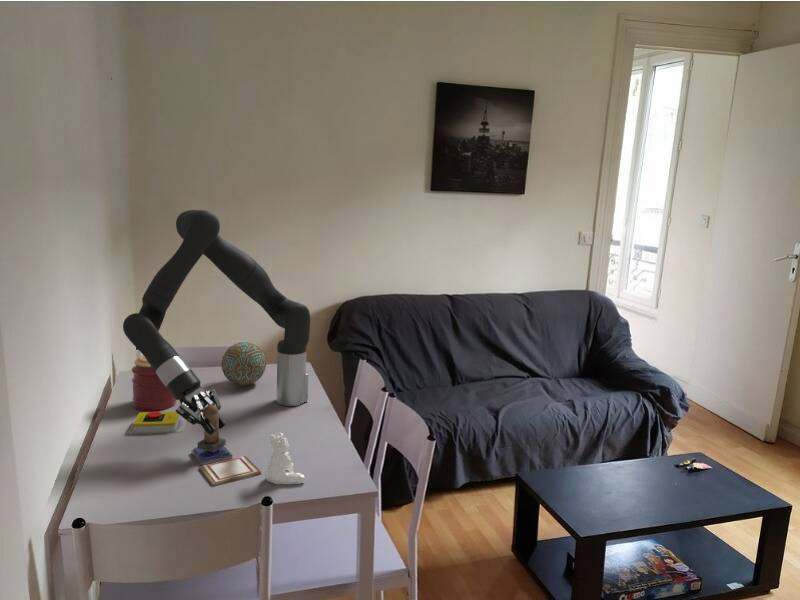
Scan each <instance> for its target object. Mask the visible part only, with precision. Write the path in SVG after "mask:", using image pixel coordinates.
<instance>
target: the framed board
mask: <svg viewBox="0 0 800 600" xmlns="http://www.w3.org/2000/svg"><path fill="white" fill-rule="evenodd" d="M198 469H199V471H200V472H201V473H202V474H203V476H204V478H206V479H207V481H208V482H209V483H210V484H211V486H212V487H215V486H219V485H223V484H227V483H231V482H234V481H239V480H242V479H243V480H244V479H247V478H251V477H255V476H258V475H262V471H261V470H260V469H259V468H258V467H257V466H256V465H255V464H254V462H252V461H251V460H250V459H249V458H248V457H247V456H246V455H244V456H239V457H235V458H232V459H228V460H224V461H219V462H215V463H210V464H206V465H202V466H201V465H200V466H199V467H198Z"/></svg>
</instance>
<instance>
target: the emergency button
mask: <svg viewBox="0 0 800 600" xmlns="http://www.w3.org/2000/svg"><path fill="white" fill-rule="evenodd" d="M187 422H188V421H187V420H186V419H184V418H181V416H180V415H179V414H178V413H177V412H176V410H175V411H158V410H155V411H142V412H139V413H138V415H137V416H136V417H135V420H134V421H132V424H131V425H130V427H129V428H128V430H127V434H128V433H129V434H128V435H133V433H142V434H165V433H183V432H185V429H186V426H187V424H188V423H187Z"/></svg>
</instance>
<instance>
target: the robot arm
mask: <svg viewBox="0 0 800 600" xmlns="http://www.w3.org/2000/svg"><path fill="white" fill-rule="evenodd" d="M220 228H221V225H220V220H219V219H218V217H217V216H216V214H215V213H213V212H211V211H209V210H203V209H202V210H201V209H188V210H185V211H183V212H180V214H179V215H178V216H177V218H176V220H175V229H176V232H177V234H178V235H179V237H180V238H181V239H182V242H181V244H180V246H179V248H178V249H177V250H176V251H175V253H174V254H173V255H172V256H171V258H169V259H168V261H167V262H166V263H164V265H163V266H162V267H161V268H159V270H158V271H157V272H156V274H155V275H154V277H153V278H152V280H151V282H150V283H149V285H148V286H147V288H146V290H145V291H144V294H143V296H142V299H141V302H142V305H141V308H140V309H139V312H135V313H134V312H133V313H132V314H129V315H128V316H126V318H125V319H124V321H123V323H122V329H123V333H124V335H125V336H126V338H127V339H128V340H129V341H130V343H132V345H133V346H134V347H135V348H136V349H137V350H138V351H139V352H140V353H141V354H142V356H143V355H144V357H145V358H146V359H147V361H148V363H149V364H150V365H151V366H152V368H153V369H154V370H155V372H156V373H157V375H158V377H159V378H160V380H161V381H162V383H163V384H164V385H165V386H166V388H167V389H168V390H169V392H170V393H171V394H172V396H173V397H174V398H175V399H176V401H179V403H180V405H179V406H178V407H177V408H176V409H175V411H176V412H177V413H178V414H179V415H180V417H182V419H186V420H187V422H188V423H190V424H191V425H192V426H195V425H200V427H202V428H203V431H204V430H205V431H206V432H207V433H208V434H209V435H211V434H213V433H214V432H215V431H216V428H215V427H214V426H213V424H212V423H211V422H210V420H209V419H207V417H206V415H205V413H204V410H205V408H206V407H207V406H209V405H215V406H216V407H217V408H218V410H219V411H220V410H221V409H222V404H221V401H220V398H219V397H218V395H217V393H216V390H215V389H214V388H211V390H208V391H207V390H206V389H204V388H203V387H202V386H201V383H202V382H201V380H200V379H199V378H198V376H197V374H195V372H194V371H193V370H192V368H191V367H190V366H189V365H188V363H187V362H186V361H185V360H184V359H183V358H182V357H181V356H180V355H179V354H178V352H177V351H176V350H175V348H174V347H173V346H172V344H170V342H169V341H168V340H166V339H165V338H164V337H163V336H162V334H161V333H160V332H159V331H160V329H161V328H162V324H163V322H164V319H165V317H166V312H167V311H168V308H169V307H170V306H171V304H172V302H173V300H174V298H175V296H176V295H177V293H178V291H179V290H180V288H181V286H182V285H183V283H184V282H185V280H186V278H187V277H188V275H189V274H190V272H191V271H192V270H193V268H194V267H195V265H196V264H197V263H198V261H199V260H200V259H201V257H202V256H203V255H204V256H205V257H206V258H208V260H209V261H211V263H213V264H214V266H215V267H216V268H217V269H218V270H219V271H221V273H222V274H223V275H225V276H226V277H227V278H228V280H230V282H231V283H232V284H234V285H235V286H236V287H237V288H238V289H239V290H241V292H243V294H245V295H246V296H247V297H249V298H250V299H251V300H252V301H254V302H256V303H257V304H258V305H259V306H260V307H261V308H262V309H263V310H264V311H265V312H266V314H267V315H268V316H269V318H271V320H273V322H274V324H276V325H277V326H278V327H280V328H282V329H284V335H283V336H284V337H283V339H281V340H278V342H277V346H276V348H277V349H276V350H277V353H276V355H277V356H276V357H277V358H276V404H278V405H280V406H286V407H296V406H297V407H298V406H301V405H303V404H305V403H307V402H306V401H309V395H308V394H309V374H308V373H307V346H308V344H309V342H310V333H311V332H310V331H311V312H310V310H309V308H308V306H307V305H305V304H303V303H301V302H297V301H295V300H292V299H289V298H288V297H286V296H285V295H284V294H282V293H281V292H280V291H279V290H278V289H277V288H276V287H275V286H274V285H273V282H272V281H271V280H272V279H271V278H270V276H269V275H268V273H267V272H266V270H265V268H263V267H262V266H261V264H260V263H258V262H257V261H256V260H255V259H254V258H253V257H252V256H251V255H249V254H248V253H246V252H245V251H243V250H242V249H240V248H238V247H237V246H235V245H233V244H231V242H228V241H227V240H226V239H224V238H223V237H222V236H221V235H220V234H219V233H220ZM304 402H305V403H304ZM302 403H303V404H302ZM300 404H301V405H300ZM226 425H227V422H226V420H225V419H224V417H223V416H222V415H221V414H220V413H219V430H221V429H223V428H224V427H225V426H226Z"/></svg>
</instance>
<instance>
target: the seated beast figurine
mask: <svg viewBox="0 0 800 600" xmlns="http://www.w3.org/2000/svg"><path fill="white" fill-rule="evenodd" d="M288 440H289V439H288V437H287V438H286V437H285V436H284V433H282V432H281V431H280V432H277V433H275V434H270V437H269V441H270V445H271V448H272V449H273V453H272V454H271V456H270V460H269V463H268V465H267V467H266V470H264V476H265V478H266V480H267V481H268V482H270V483H271V484H273V483H274V485H276V484H277V485H279V484H281V485H285V484H284V483H299V482H304V483H305V481H306V480H305V474H302V473H301V472H294V468H295V465H294V462H292V461H291V460H292V458H291V456H290V453H289V450H288V449H289V448H290V444H289V441H288Z"/></svg>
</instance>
